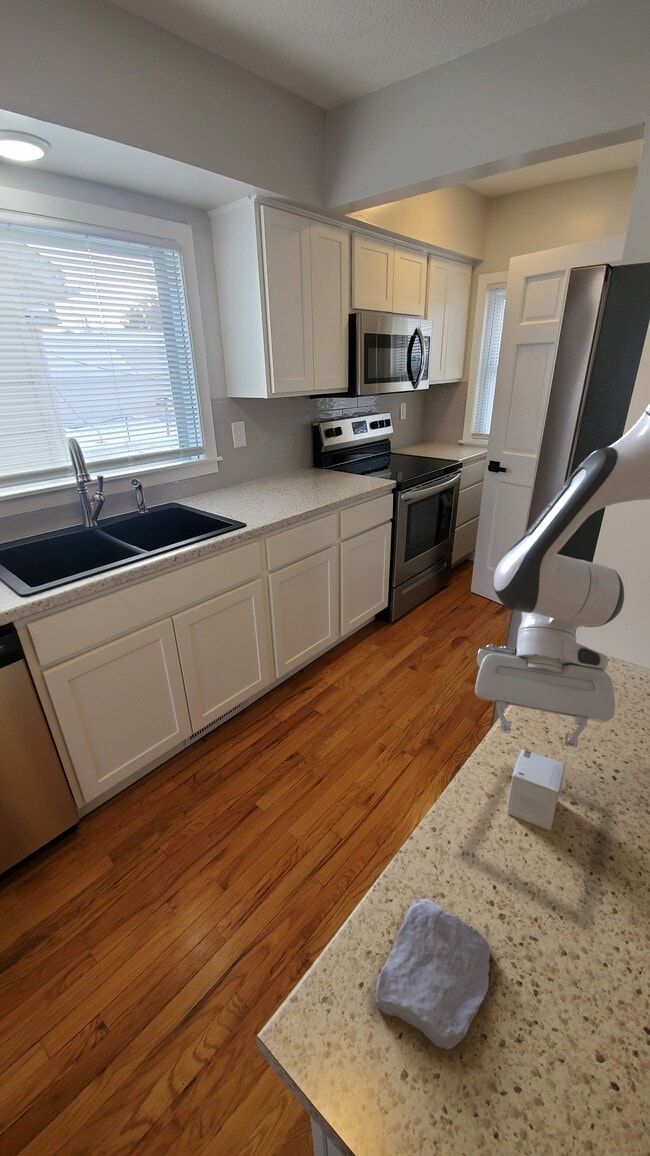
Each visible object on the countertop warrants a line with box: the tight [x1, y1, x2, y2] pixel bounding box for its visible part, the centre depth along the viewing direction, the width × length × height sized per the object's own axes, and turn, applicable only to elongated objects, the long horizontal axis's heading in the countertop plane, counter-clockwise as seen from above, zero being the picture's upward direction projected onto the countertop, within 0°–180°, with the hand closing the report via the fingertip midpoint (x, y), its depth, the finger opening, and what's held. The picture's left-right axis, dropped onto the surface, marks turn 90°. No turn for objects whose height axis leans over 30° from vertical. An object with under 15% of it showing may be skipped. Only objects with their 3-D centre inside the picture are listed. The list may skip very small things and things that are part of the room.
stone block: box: [374, 898, 491, 1050], centre depth 52 cm, size 12×5×10 cm
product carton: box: [506, 749, 566, 831], centre depth 69 cm, size 6×6×7 cm
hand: (537, 739), depth 75 cm, fingers open, 8 cm apart
